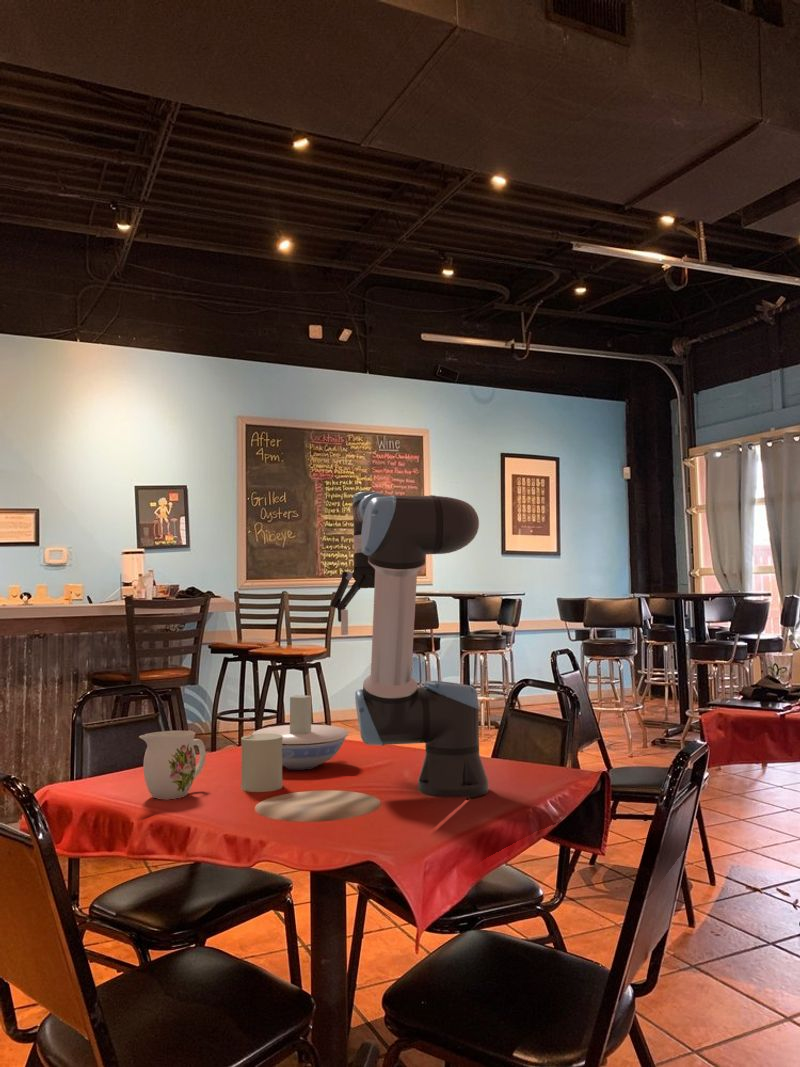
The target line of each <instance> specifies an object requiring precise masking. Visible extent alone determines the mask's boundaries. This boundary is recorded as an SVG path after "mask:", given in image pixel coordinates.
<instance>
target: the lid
mask: <svg viewBox="0 0 800 1067" xmlns="http://www.w3.org/2000/svg"><path fill="white" fill-rule="evenodd" d="M254 734H278V735H282V736H283V738H282V744H313V743H323V742H330V741H335V740H339V739H342V738H345V737H348V736H349V730H347V729H346V728H343V727H340V726H335V725H328V724H312V695H306V694H305V695H304V694H303V695H301V694H300V695H298V694H297V695H294V696H290V697H289V724H284V725H276V726H275V725H274V726H268V727H264V728H260V729H258V730H255V731H253V732H252V734H251V735H254ZM345 739H346V738H345Z"/></svg>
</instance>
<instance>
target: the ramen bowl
mask: <svg viewBox="0 0 800 1067" xmlns="http://www.w3.org/2000/svg"><path fill="white" fill-rule="evenodd" d="M345 739H346V737H345V738H342V739H339V740H335V741H330V742H323V743H313V744H282V767H285V768H286V769H288V770H290V771H293V770H294V771H304V770H305V769H307V770H312V769H315V768H316V767H317V766H318V765H321V764H325V763H326V762H328V761H330V760H331V759H333V758H334V756H335V755H337V753H338V752H339V751H340V750H341V747H342V745H344V743H345ZM314 767H315V768H314Z"/></svg>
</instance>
